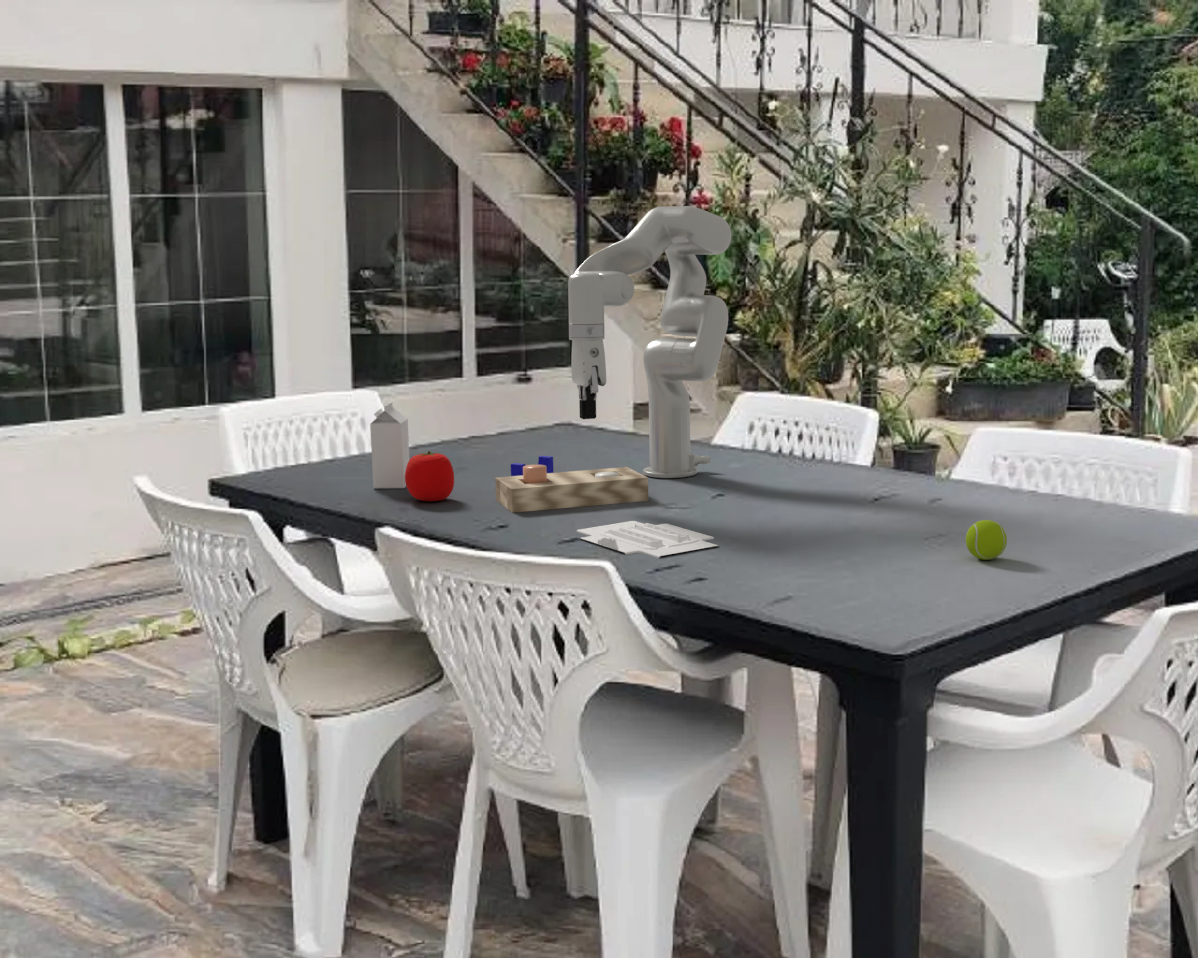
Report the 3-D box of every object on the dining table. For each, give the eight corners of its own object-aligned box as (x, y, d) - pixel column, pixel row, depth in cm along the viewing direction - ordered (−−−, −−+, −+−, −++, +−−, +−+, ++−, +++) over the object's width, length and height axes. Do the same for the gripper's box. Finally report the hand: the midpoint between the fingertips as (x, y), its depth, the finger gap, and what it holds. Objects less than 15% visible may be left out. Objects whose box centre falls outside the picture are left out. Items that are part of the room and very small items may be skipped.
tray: (647, 522, 306) (647, 504, 306) (734, 553, 284) (734, 533, 283) (561, 537, 295) (561, 518, 295) (644, 570, 273) (644, 550, 272)
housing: (627, 489, 338) (626, 466, 337) (648, 500, 325) (648, 477, 324) (496, 500, 329) (495, 477, 328) (512, 512, 316) (511, 489, 315)
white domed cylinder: (614, 492, 333) (613, 471, 332) (621, 496, 328) (621, 475, 327) (592, 494, 331) (592, 473, 330) (599, 498, 326) (599, 476, 325)
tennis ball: (999, 554, 271) (1000, 515, 270) (1011, 563, 264) (1012, 524, 263) (960, 555, 271) (961, 516, 270) (971, 564, 264) (972, 525, 263)
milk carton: (410, 483, 351) (407, 401, 348) (404, 489, 345) (400, 405, 341) (380, 483, 352) (376, 401, 349) (373, 489, 345) (368, 406, 342)
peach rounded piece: (543, 485, 327) (542, 463, 326) (549, 489, 323) (549, 467, 322) (521, 487, 326) (520, 465, 325) (527, 491, 321) (526, 469, 320)
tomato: (447, 505, 325) (445, 456, 323) (400, 504, 327) (397, 455, 325) (461, 496, 335) (459, 447, 333) (415, 495, 337) (413, 447, 335)
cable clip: (538, 480, 352) (537, 455, 350) (553, 482, 349) (553, 456, 348) (506, 489, 342) (505, 463, 341) (522, 491, 339) (521, 465, 338)
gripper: (615, 334, 316) (616, 421, 319) (592, 329, 330) (593, 413, 333) (581, 335, 313) (582, 423, 317) (559, 330, 327) (560, 415, 330)
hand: (587, 418), depth 325 cm, fingers closed
